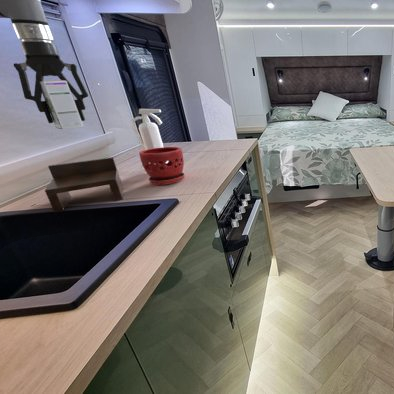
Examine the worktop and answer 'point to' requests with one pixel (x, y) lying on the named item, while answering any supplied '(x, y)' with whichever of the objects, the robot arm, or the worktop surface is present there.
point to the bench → (82, 180)
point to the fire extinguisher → (148, 130)
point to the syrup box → (61, 104)
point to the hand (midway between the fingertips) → (67, 121)
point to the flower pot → (163, 164)
